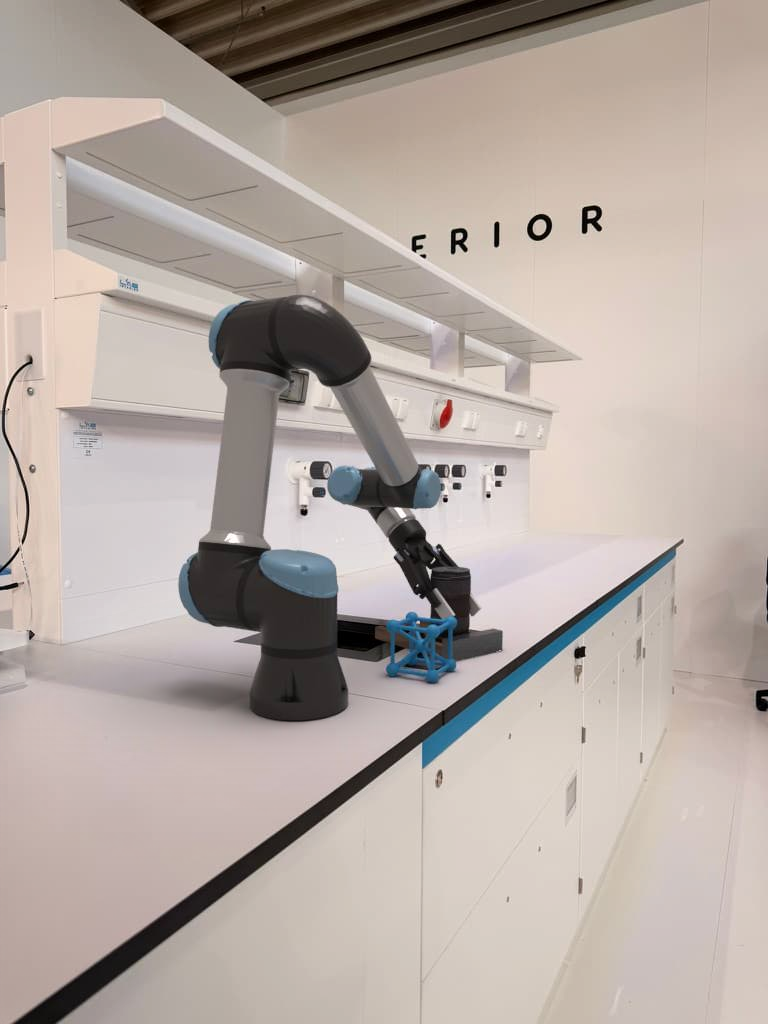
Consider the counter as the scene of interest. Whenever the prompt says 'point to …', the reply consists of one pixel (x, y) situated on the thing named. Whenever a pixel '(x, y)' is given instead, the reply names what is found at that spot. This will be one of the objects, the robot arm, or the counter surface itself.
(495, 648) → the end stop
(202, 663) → the counter surface
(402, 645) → the guide rails
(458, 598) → the camera lens
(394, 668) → the molecular structure
